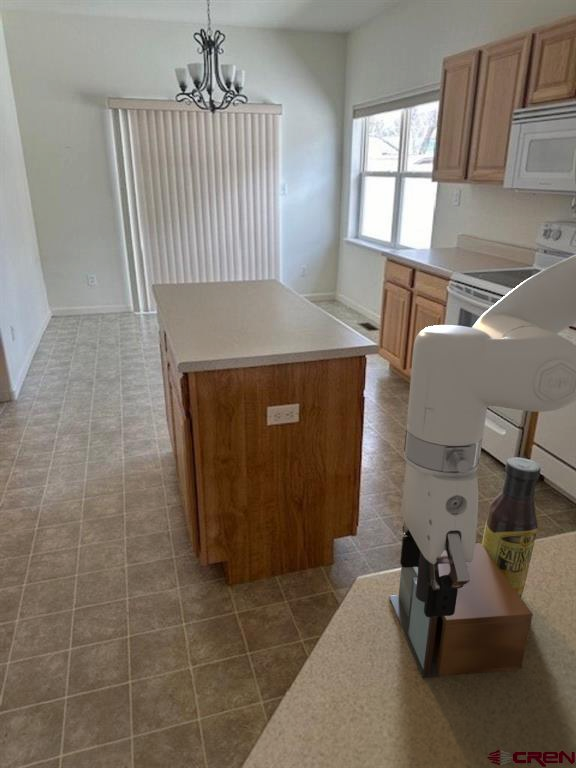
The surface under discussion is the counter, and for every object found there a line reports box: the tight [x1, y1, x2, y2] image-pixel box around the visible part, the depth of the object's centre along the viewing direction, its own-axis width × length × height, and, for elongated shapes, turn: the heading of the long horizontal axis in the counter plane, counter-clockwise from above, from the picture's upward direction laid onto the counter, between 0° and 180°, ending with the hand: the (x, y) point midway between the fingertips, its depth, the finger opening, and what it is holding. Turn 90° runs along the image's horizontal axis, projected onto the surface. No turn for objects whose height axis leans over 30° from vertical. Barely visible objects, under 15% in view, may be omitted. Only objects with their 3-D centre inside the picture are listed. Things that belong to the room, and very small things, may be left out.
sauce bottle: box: [481, 457, 541, 598], centre depth 71 cm, size 6×6×20 cm
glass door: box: [407, 551, 437, 675], centre depth 61 cm, size 2×6×14 cm, turn 6°
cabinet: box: [388, 542, 533, 679], centre depth 66 cm, size 12×13×8 cm
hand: (425, 587), depth 60 cm, fingers open, 7 cm apart
